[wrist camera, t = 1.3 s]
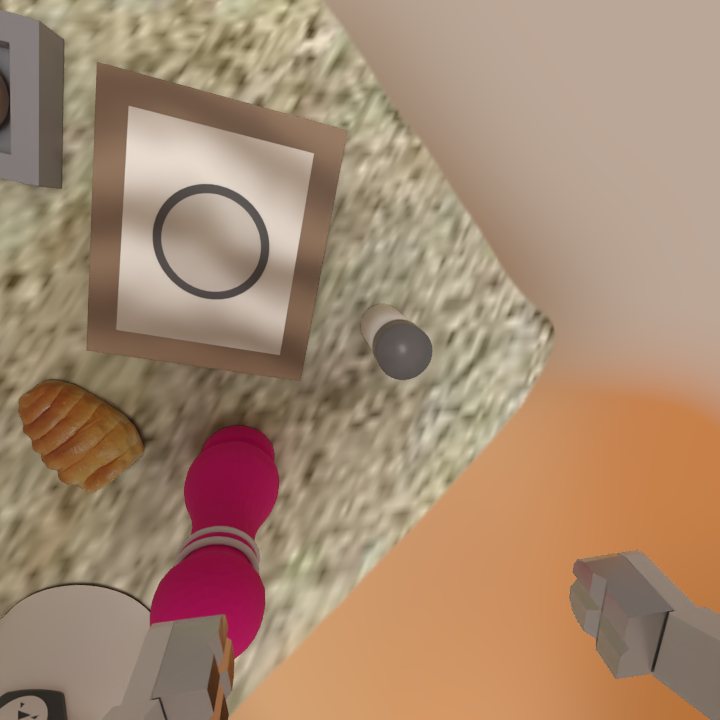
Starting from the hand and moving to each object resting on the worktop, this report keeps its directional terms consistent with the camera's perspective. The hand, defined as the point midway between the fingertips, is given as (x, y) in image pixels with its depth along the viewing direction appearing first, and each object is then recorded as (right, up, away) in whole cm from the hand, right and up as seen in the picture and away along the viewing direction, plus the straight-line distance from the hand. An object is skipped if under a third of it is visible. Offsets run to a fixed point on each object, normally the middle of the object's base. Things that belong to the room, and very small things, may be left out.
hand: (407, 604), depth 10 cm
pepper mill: (-12, -3, +29) cm, 32 cm away
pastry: (-24, 0, +26) cm, 35 cm away
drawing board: (-12, +14, +23) cm, 30 cm away
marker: (+1, +9, +27) cm, 28 cm away
